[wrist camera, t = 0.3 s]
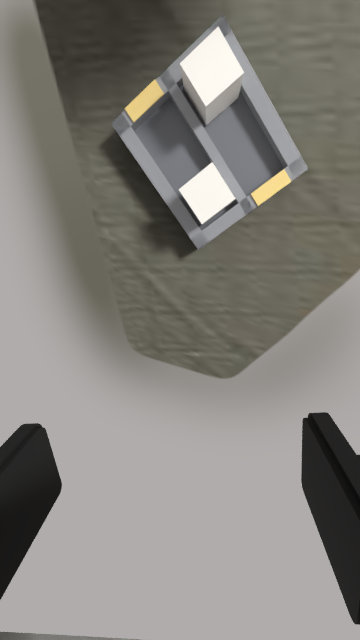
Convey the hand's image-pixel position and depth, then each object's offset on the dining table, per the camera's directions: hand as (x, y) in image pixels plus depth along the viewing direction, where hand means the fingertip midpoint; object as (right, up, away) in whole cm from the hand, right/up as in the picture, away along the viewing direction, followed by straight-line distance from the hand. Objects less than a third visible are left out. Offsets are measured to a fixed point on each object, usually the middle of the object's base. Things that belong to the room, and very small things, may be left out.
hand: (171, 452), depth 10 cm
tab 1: (+4, +28, +19) cm, 34 cm away
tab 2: (+3, +19, +22) cm, 29 cm away
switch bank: (+4, +24, +22) cm, 32 cm away
